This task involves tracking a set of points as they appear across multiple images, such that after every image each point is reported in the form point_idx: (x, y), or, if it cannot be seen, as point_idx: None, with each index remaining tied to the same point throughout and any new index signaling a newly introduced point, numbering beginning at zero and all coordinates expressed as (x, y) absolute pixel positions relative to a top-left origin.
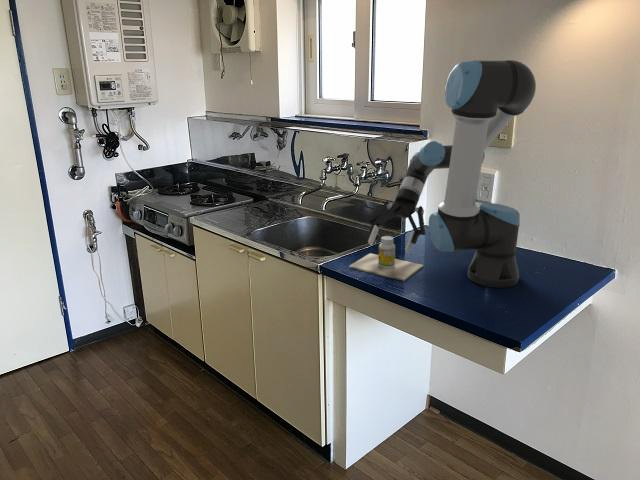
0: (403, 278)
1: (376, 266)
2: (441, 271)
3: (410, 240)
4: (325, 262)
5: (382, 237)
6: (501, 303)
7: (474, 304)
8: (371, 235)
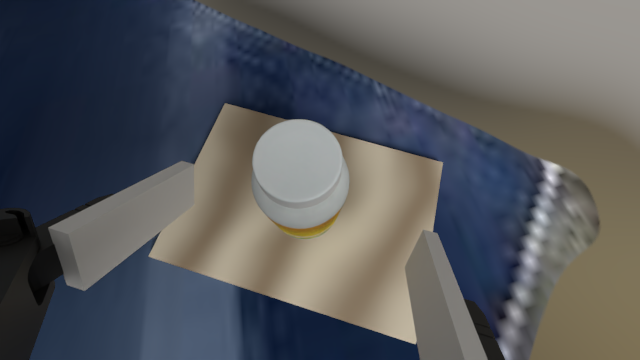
0: (228, 107)
1: None
2: None
3: (130, 187)
4: (545, 190)
5: (334, 156)
6: None
7: (36, 20)
8: (441, 264)
